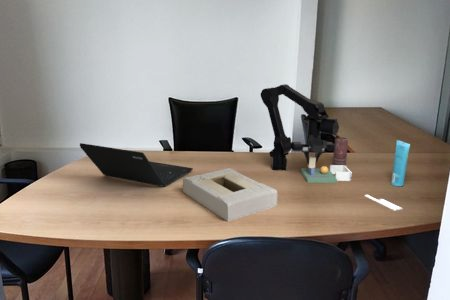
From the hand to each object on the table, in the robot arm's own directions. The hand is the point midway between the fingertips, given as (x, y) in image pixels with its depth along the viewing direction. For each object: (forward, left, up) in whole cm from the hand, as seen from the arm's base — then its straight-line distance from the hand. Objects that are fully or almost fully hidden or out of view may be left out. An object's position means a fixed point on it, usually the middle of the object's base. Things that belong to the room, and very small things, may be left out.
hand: (311, 164), depth 175 cm
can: (+18, +16, -6) cm, 25 cm away
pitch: (+4, 0, -6) cm, 7 cm away
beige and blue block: (0, 0, -4) cm, 4 cm away
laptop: (-77, -3, -6) cm, 77 cm away
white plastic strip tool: (+22, -28, -6) cm, 36 cm away
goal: (+14, 0, -6) cm, 15 cm away
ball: (+6, 0, -3) cm, 7 cm away
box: (-38, -26, -7) cm, 47 cm away
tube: (+36, -9, -6) cm, 38 cm away
